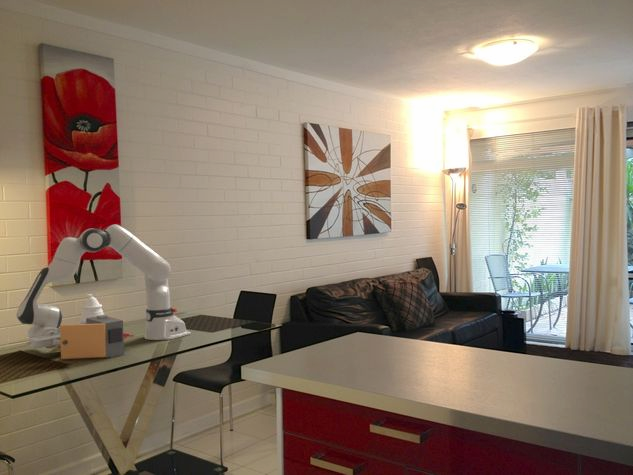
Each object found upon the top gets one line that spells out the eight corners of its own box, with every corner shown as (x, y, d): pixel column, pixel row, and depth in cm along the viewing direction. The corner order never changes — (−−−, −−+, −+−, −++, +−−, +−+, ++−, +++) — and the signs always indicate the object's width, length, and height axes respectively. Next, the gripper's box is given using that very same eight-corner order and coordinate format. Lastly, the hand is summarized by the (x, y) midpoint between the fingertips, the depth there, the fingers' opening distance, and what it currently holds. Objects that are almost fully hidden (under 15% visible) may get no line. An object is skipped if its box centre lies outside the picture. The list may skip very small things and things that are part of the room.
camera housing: (104, 348, 273) (103, 313, 272) (125, 355, 260) (124, 318, 259) (87, 351, 267) (86, 315, 266) (107, 358, 254) (106, 321, 253)
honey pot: (97, 330, 315) (95, 296, 314) (75, 329, 317) (73, 295, 316) (110, 325, 327) (109, 292, 326) (89, 324, 330) (87, 292, 329)
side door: (62, 357, 253) (60, 324, 252) (106, 356, 254) (105, 323, 254) (60, 359, 250) (58, 326, 249) (104, 357, 252) (103, 324, 251)
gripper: (24, 334, 257) (37, 339, 247) (71, 327, 272) (85, 331, 262) (25, 349, 257) (38, 354, 248) (72, 340, 272) (86, 345, 262)
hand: (62, 342), depth 255 cm, fingers closed
